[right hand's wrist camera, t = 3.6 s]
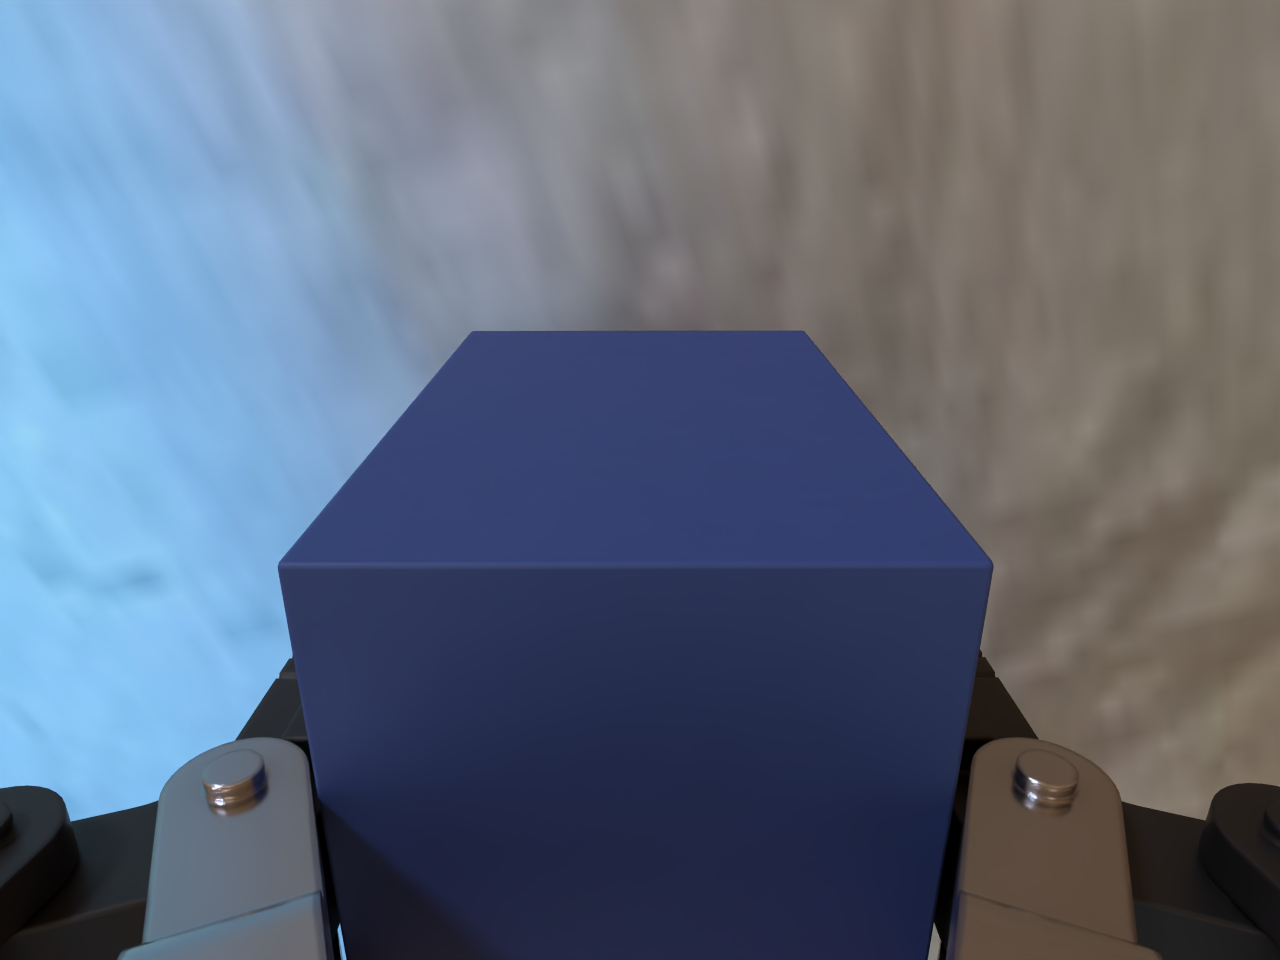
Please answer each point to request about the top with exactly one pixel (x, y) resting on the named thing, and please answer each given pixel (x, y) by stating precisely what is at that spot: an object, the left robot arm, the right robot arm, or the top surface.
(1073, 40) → the top surface
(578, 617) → the bar
